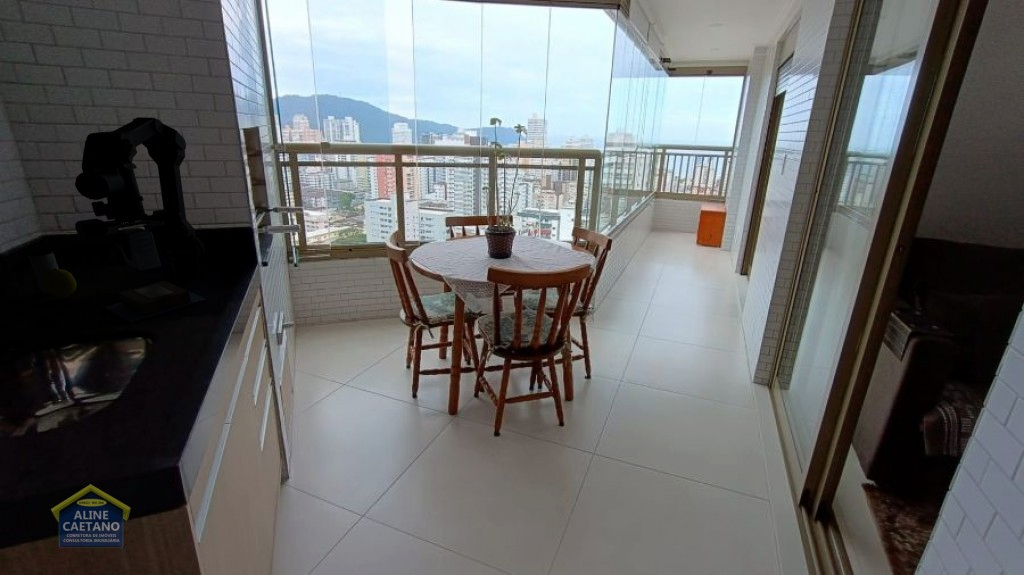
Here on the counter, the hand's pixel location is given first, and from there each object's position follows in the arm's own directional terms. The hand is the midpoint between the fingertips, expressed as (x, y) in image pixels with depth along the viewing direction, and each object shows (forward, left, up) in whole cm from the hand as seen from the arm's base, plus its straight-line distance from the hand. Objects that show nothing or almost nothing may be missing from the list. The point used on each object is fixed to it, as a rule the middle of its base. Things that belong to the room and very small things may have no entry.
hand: (141, 257), depth 108 cm
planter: (+11, -29, -12) cm, 33 cm away
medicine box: (0, 0, -2) cm, 2 cm away
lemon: (+11, -21, -12) cm, 27 cm away
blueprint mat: (0, +1, -12) cm, 12 cm away
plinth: (0, +1, -12) cm, 12 cm away
